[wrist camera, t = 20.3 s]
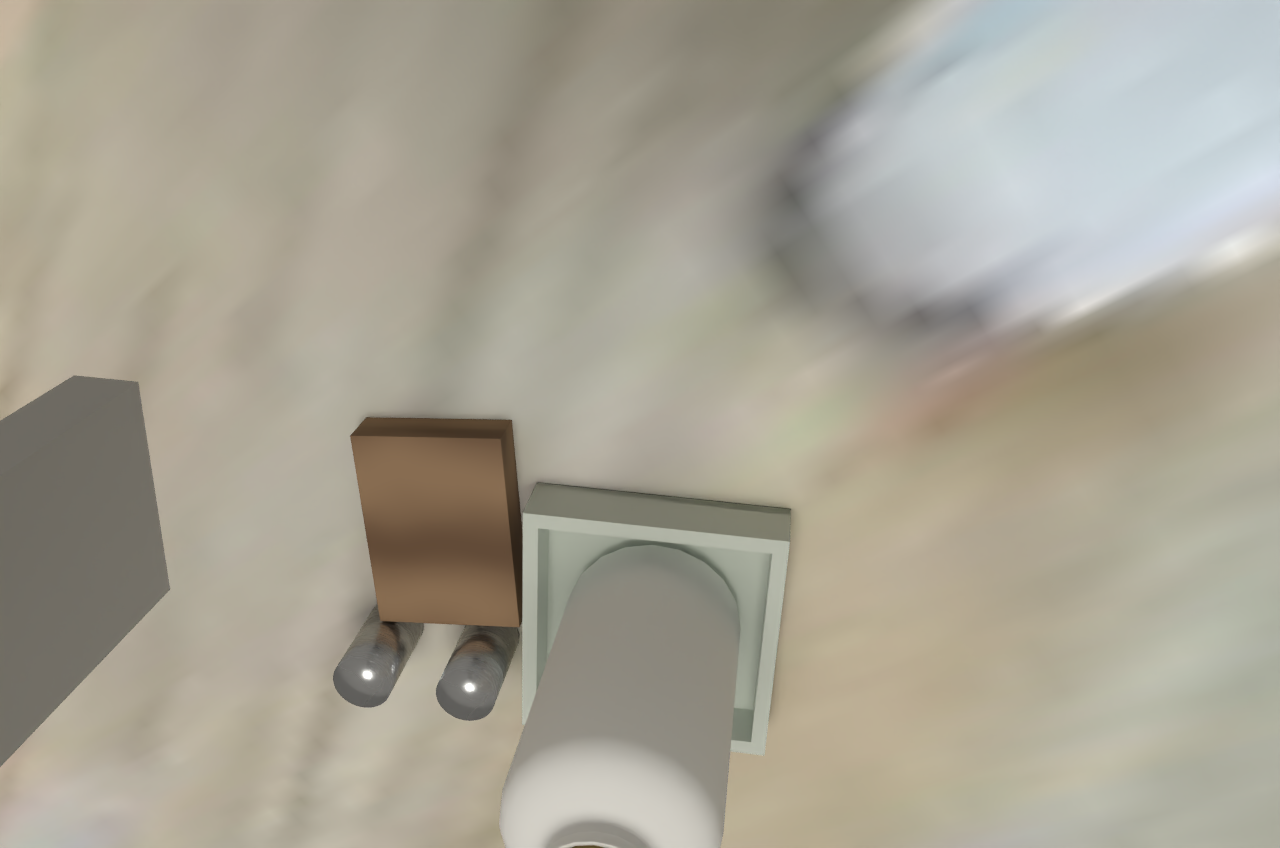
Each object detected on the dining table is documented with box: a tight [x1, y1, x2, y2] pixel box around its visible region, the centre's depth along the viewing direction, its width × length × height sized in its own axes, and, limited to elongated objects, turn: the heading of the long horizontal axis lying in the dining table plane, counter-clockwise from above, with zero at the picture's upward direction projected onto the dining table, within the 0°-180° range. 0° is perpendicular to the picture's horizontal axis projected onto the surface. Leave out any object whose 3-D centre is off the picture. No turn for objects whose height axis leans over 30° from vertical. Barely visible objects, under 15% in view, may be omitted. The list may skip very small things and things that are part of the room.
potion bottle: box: [499, 545, 741, 848], centre depth 45 cm, size 8×8×18 cm
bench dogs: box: [333, 604, 519, 721], centre depth 54 cm, size 3×8×5 cm, turn 87°
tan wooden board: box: [350, 417, 523, 627], centre depth 53 cm, size 10×7×2 cm
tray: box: [522, 483, 791, 755], centre depth 52 cm, size 12×12×3 cm
